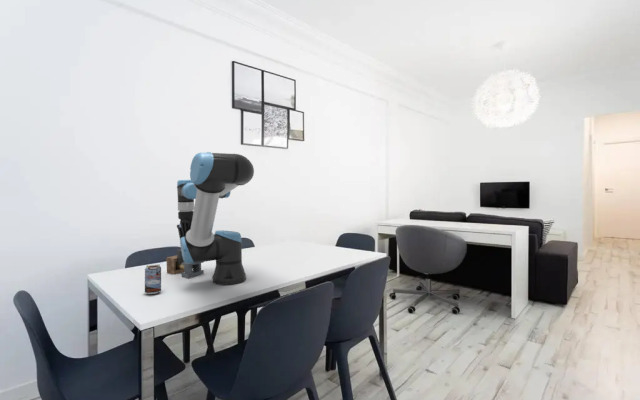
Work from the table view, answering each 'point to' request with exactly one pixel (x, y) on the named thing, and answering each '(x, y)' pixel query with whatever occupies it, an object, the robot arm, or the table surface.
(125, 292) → the table surface
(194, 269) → the grey slotted clamp block
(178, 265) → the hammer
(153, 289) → the beverage can
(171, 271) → the socket block
